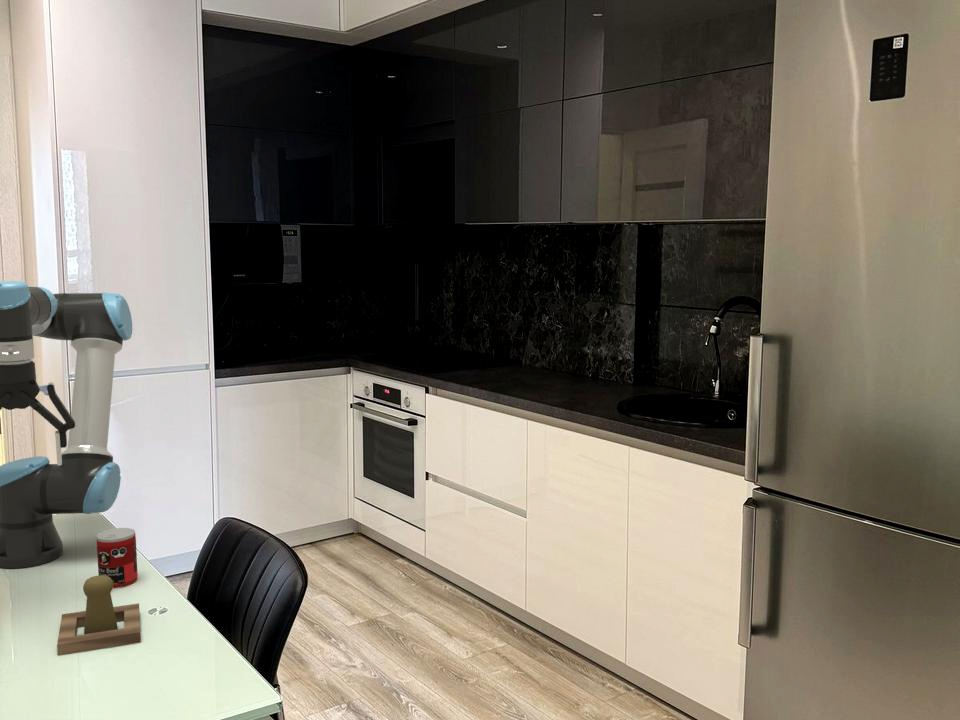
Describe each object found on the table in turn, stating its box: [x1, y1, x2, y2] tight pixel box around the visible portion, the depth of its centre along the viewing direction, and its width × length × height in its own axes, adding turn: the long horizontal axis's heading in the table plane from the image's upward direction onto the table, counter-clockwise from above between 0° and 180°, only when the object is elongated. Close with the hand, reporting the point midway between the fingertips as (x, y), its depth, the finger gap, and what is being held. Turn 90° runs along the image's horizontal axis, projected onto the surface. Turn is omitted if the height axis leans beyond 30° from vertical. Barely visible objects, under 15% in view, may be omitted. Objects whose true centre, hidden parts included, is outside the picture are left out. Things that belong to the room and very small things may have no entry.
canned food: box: [95, 527, 139, 589], centre depth 192 cm, size 8×8×11 cm
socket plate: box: [56, 603, 142, 656], centre depth 168 cm, size 14×14×2 cm
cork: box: [82, 574, 119, 635], centre depth 167 cm, size 6×6×11 cm
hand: (21, 467), depth 174 cm, fingers open, 13 cm apart
